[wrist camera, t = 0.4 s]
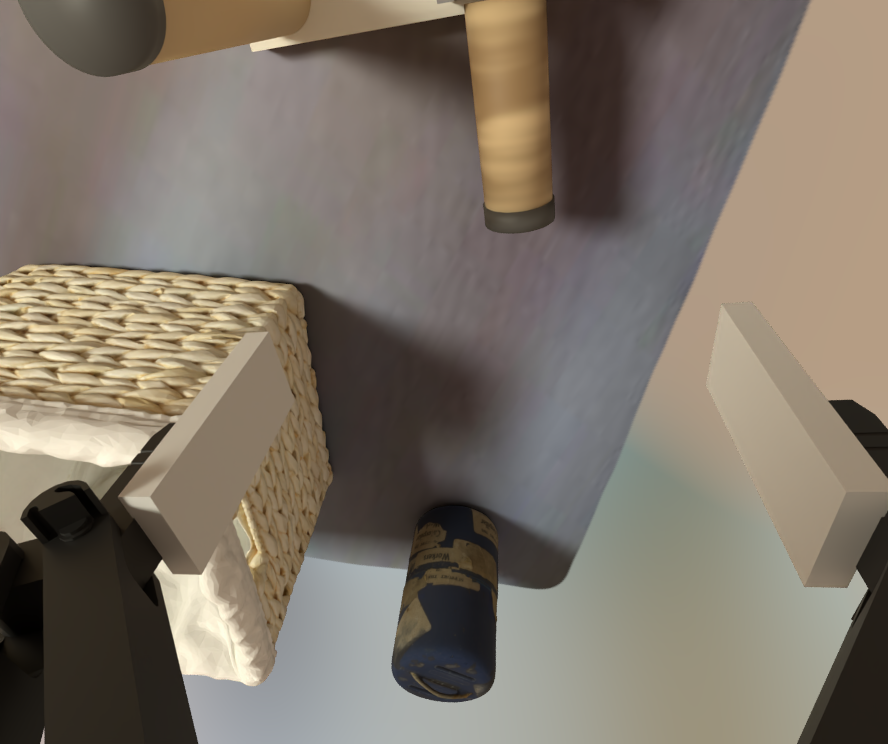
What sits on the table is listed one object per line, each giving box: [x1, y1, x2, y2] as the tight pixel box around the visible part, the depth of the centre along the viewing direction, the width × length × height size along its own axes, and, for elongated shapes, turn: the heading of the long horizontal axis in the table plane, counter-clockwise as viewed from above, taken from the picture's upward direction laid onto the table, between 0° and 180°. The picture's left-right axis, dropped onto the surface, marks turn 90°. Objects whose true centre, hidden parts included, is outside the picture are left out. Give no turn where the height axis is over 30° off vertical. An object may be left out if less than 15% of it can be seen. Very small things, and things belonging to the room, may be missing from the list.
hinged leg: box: [464, 0, 555, 233], centre depth 28 cm, size 14×4×4 cm, turn 9°
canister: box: [392, 506, 498, 702], centre depth 53 cm, size 10×10×18 cm
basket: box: [0, 264, 333, 686], centre depth 43 cm, size 27×27×22 cm
